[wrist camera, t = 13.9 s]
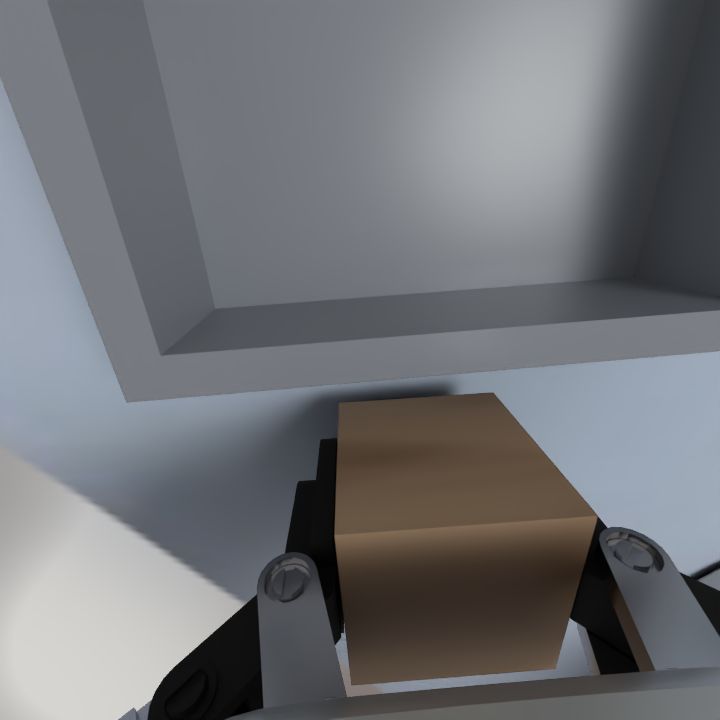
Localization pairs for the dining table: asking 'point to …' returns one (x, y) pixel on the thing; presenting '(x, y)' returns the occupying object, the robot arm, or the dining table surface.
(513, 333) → the tote
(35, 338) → the dining table surface
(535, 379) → the dining table surface
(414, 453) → the walnut cube
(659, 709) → the robot arm
